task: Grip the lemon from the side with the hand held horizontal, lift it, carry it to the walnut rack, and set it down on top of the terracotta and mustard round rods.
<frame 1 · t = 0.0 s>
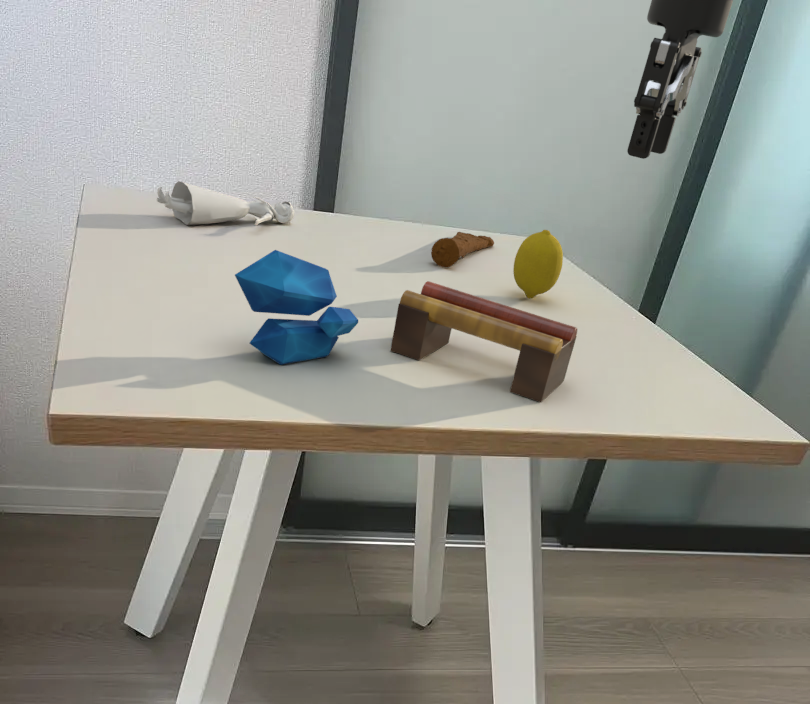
hand: (646, 154, 94), 18 cm above the table, tool pointing down, fingers open, 8 cm apart
rod rack: (477, 366, 83), on the table
lemon: (529, 300, 106), on the table
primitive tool: (457, 253, 119), on the table
woman figurine: (229, 223, 112), on the table
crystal: (290, 357, 77), on the table
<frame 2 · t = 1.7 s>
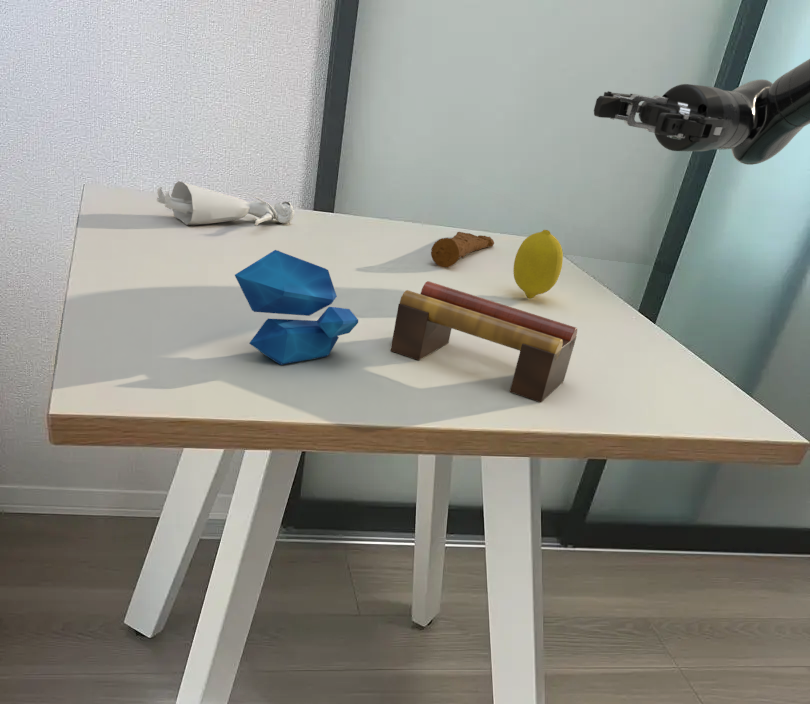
hand: (628, 115, 103), 21 cm above the table, tool horizontal, fingers open, 8 cm apart
nothing on the table moved.
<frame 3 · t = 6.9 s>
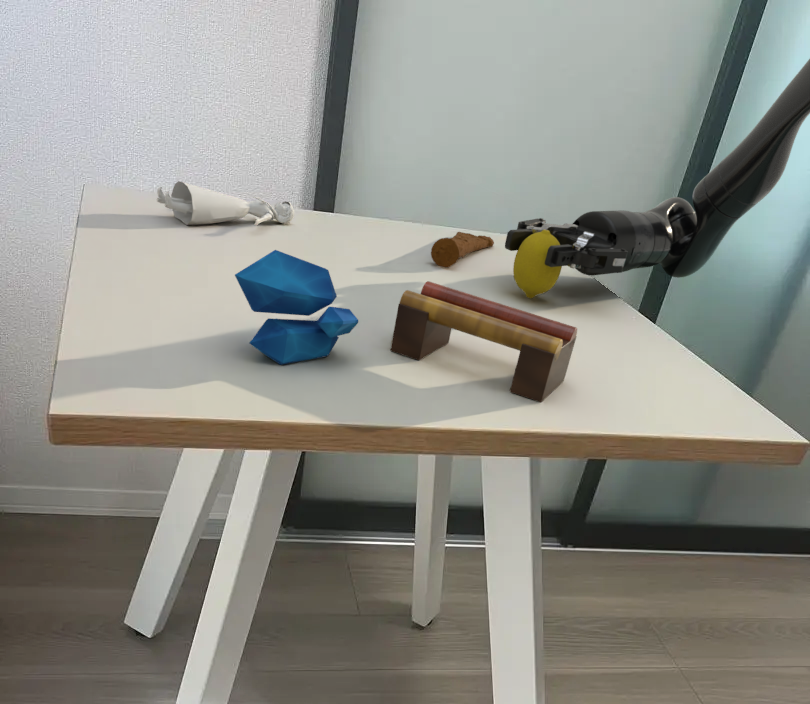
hand: (528, 248, 101), 6 cm above the table, tool horizontal, fingers closed on lemon, 5 cm apart
lemon: (529, 300, 106), on the table, touching gripper
everything else where it was.
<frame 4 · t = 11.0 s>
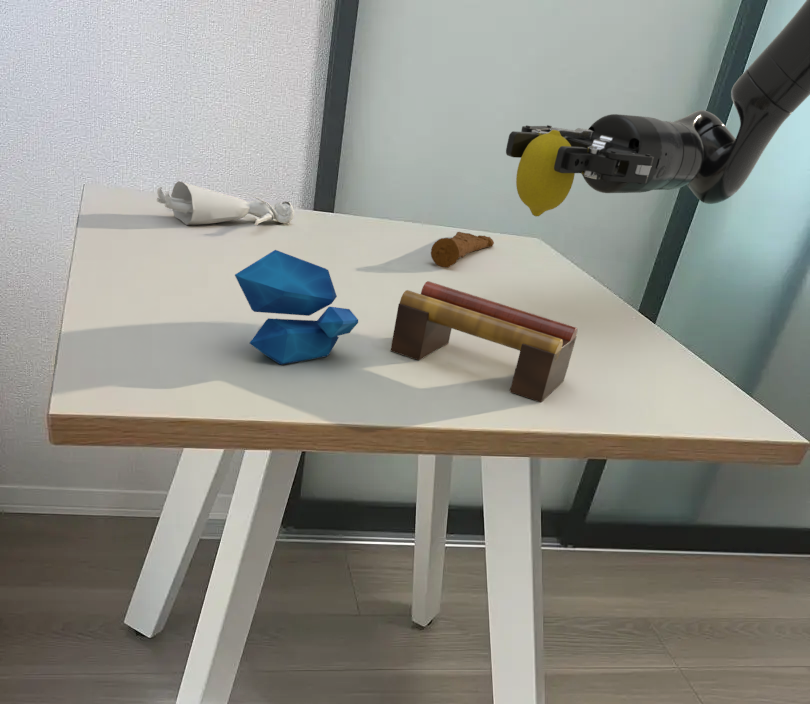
hand: (534, 151, 84), 18 cm above the table, tool horizontal, fingers closed on lemon, 5 cm apart
lemon: (535, 218, 89), point 11 cm above the table, touching gripper
everything else where it was.
when the fingers open (11 cm above the table, at t = 15.1 s): lemon stays where it is, resting on rod rack.
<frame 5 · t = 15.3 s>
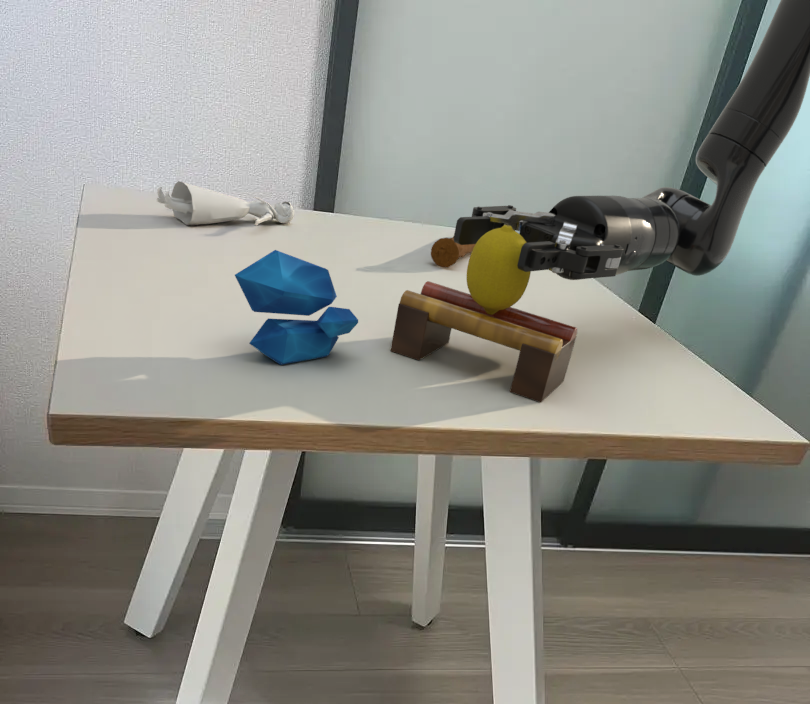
hand: (489, 244, 76), 11 cm above the table, tool horizontal, fingers open, 7 cm apart
lemon: (489, 316, 81), point 5 cm above the table, touching rod rack
everything else where it was.
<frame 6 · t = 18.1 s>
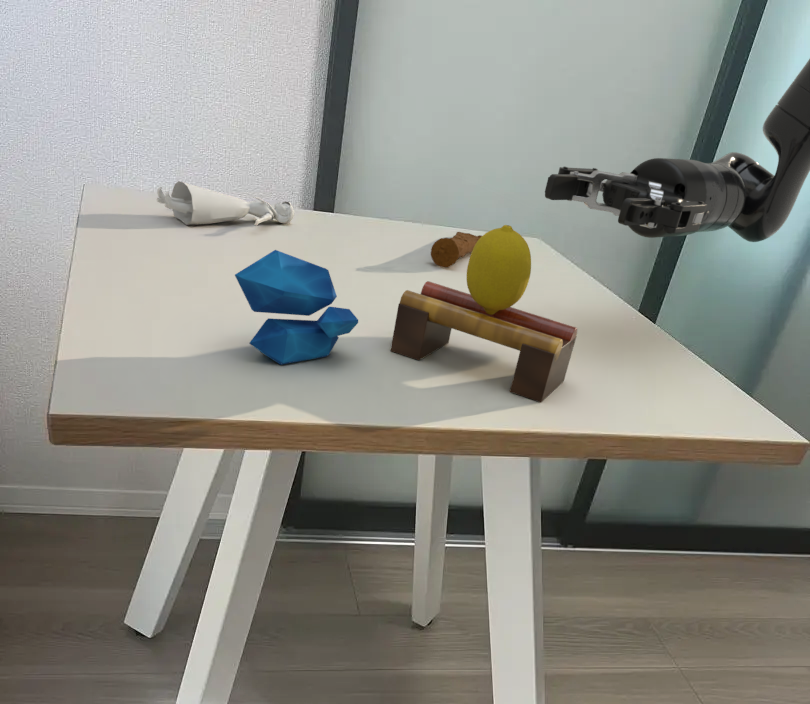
hand: (585, 199, 82), 15 cm above the table, tool horizontal, fingers open, 8 cm apart
nothing on the table moved.
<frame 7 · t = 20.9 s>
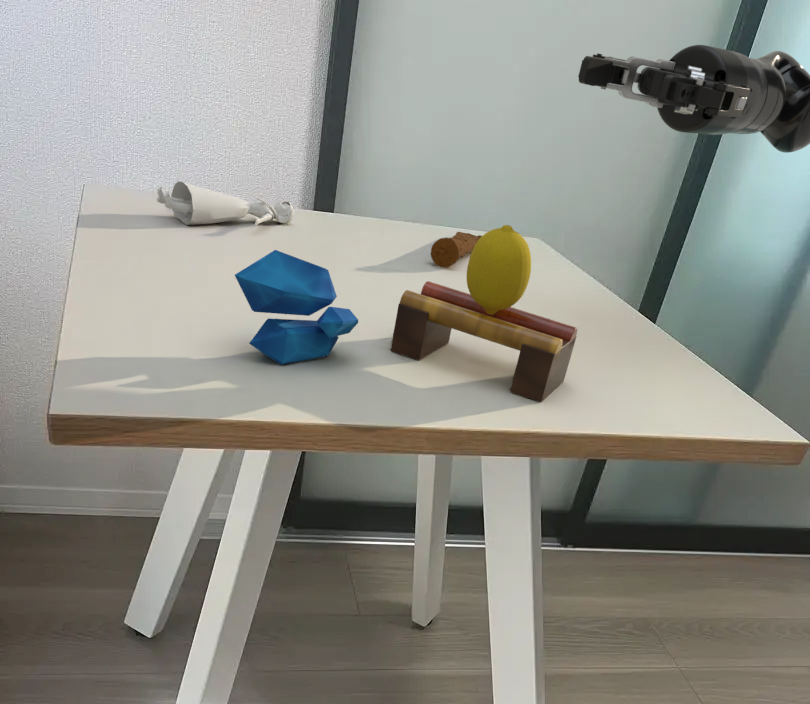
hand: (623, 79, 78), 25 cm above the table, tool horizontal, fingers open, 8 cm apart
nothing on the table moved.
at the end: lemon inside the target area on the rod rack (0.1 cm from its centre), point 4.8 cm above the rod rack's base; lemon touching rod rack; the gripper is holding nothing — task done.
